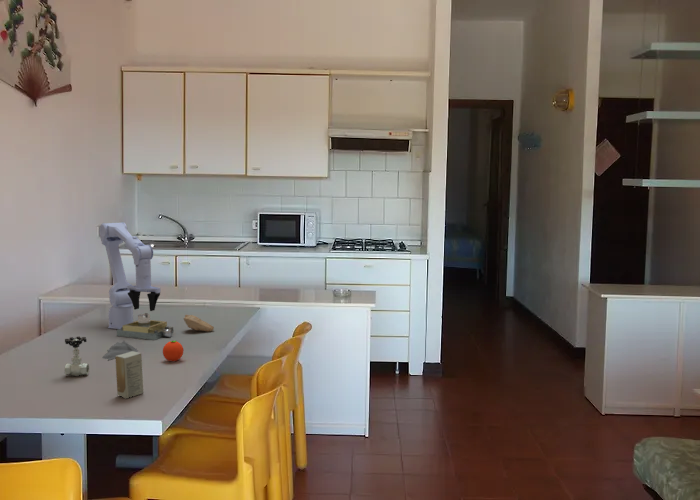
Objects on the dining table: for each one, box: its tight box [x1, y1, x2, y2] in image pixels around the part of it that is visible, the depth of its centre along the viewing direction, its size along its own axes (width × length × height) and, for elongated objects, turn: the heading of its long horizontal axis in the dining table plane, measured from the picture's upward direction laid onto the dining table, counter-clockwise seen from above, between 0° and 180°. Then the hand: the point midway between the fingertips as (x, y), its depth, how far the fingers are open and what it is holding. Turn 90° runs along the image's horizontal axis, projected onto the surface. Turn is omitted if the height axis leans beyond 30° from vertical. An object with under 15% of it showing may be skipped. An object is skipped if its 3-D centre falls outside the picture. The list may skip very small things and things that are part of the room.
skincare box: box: [115, 351, 144, 399], centre depth 198 cm, size 6×4×12 cm
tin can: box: [137, 312, 151, 327], centre depth 271 cm, size 5×5×6 cm
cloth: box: [101, 340, 139, 362], centre depth 247 cm, size 26×14×2 cm, turn 175°
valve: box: [64, 336, 90, 377], centre depth 217 cm, size 7×7×12 cm
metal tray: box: [116, 319, 174, 341], centre depth 271 cm, size 21×12×4 cm, turn 69°
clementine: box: [162, 340, 184, 362], centre depth 234 cm, size 8×7×7 cm
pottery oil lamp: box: [183, 314, 215, 332], centre depth 277 cm, size 9×12×7 cm
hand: (144, 309), depth 271 cm, fingers open, 7 cm apart
